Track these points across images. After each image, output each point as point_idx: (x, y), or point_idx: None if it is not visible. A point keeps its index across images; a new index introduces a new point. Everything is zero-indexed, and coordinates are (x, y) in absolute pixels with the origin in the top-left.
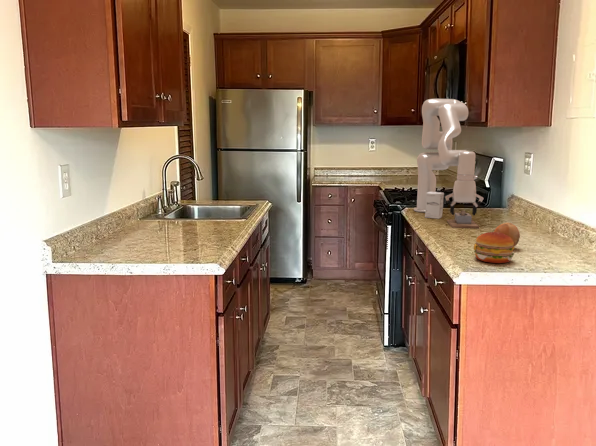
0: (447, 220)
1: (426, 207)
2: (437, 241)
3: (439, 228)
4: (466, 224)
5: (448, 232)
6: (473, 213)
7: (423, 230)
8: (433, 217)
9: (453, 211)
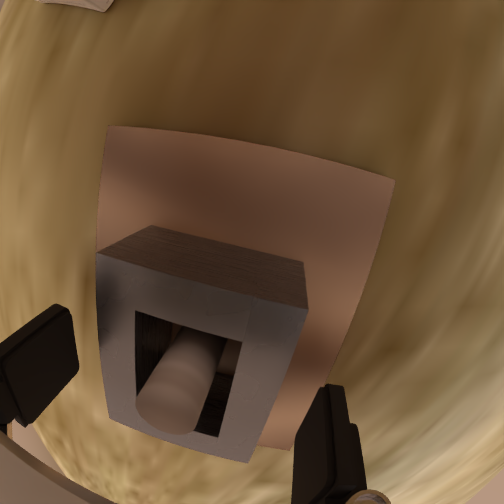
0: (105, 161)
1: None
2: None
3: None
4: None
5: (99, 452)
6: (296, 447)
7: None
8: (73, 4)
9: (55, 390)
